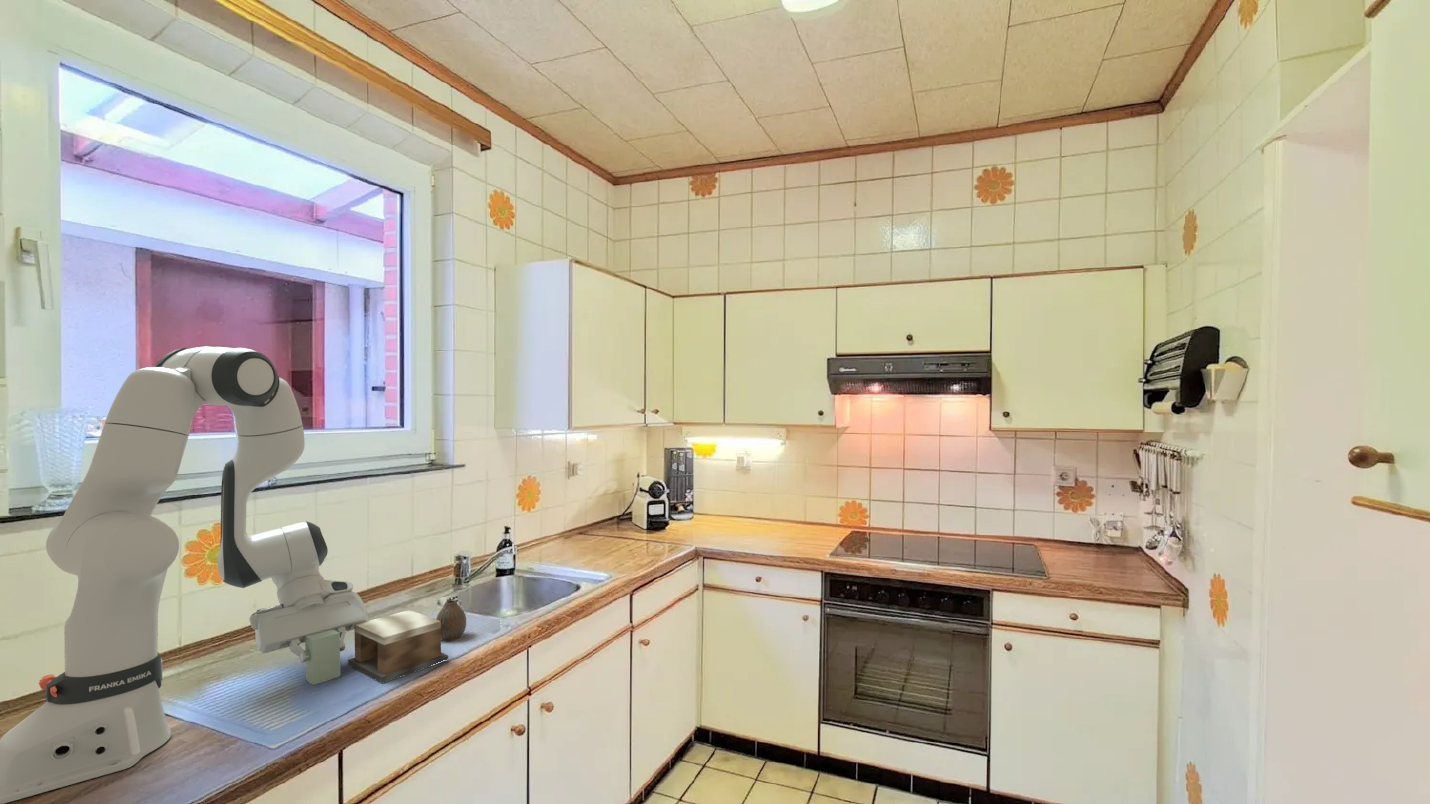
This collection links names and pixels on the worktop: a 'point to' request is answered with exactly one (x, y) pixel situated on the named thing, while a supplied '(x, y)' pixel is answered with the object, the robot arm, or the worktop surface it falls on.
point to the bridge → (397, 645)
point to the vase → (451, 621)
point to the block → (323, 656)
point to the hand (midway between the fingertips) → (324, 655)
